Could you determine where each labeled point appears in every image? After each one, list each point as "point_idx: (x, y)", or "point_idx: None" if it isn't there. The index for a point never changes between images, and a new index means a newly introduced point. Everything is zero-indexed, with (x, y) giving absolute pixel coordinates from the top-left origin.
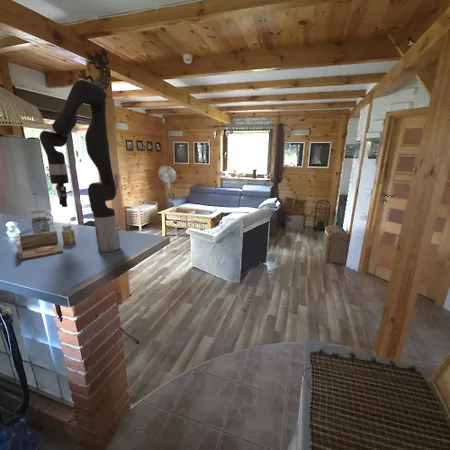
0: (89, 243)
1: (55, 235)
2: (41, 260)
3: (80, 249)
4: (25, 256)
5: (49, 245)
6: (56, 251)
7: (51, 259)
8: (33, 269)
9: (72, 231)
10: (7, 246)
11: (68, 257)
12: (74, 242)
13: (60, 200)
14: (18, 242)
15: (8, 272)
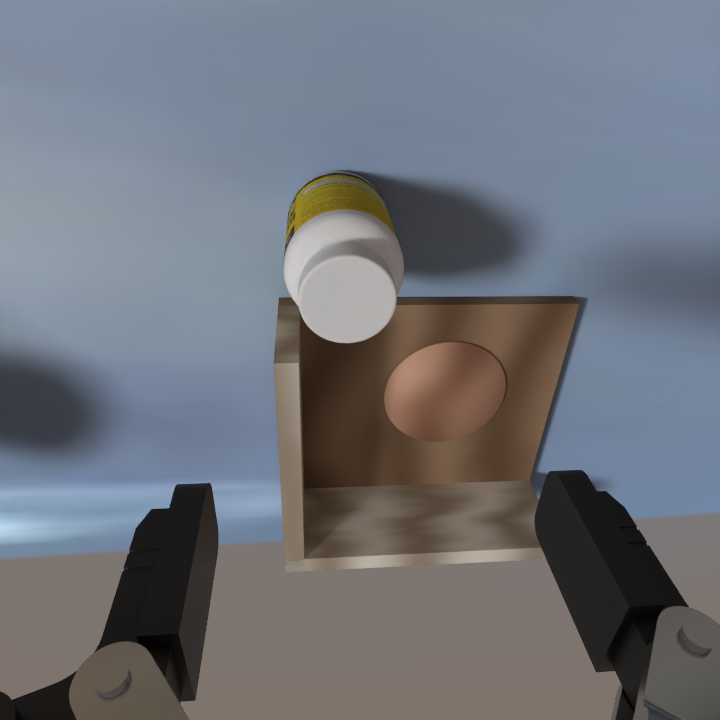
0: (486, 53)
1: (299, 351)
2: (610, 405)
3: (603, 174)
4: (507, 472)
5: (360, 364)
6: (558, 338)
7: (644, 364)
8: (717, 436)
9: (388, 227)
10: None
11: (706, 279)
12: (371, 184)
13: (201, 616)
14: (480, 556)
15: (651, 508)
